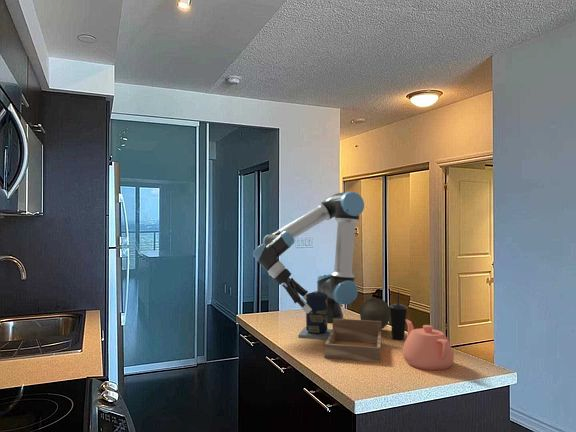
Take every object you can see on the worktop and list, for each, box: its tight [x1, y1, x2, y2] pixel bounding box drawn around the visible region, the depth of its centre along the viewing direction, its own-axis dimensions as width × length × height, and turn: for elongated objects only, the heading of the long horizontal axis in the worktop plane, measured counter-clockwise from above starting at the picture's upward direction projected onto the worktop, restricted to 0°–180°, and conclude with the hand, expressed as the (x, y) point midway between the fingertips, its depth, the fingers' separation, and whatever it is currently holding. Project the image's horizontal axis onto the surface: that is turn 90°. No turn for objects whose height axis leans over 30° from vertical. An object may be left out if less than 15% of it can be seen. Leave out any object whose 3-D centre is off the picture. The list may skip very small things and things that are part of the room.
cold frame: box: [323, 318, 382, 363], centre depth 172 cm, size 26×20×9 cm
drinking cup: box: [388, 291, 408, 341], centre depth 190 cm, size 8×8×20 cm
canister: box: [305, 290, 328, 333], centre depth 196 cm, size 10×10×18 cm
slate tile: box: [297, 327, 333, 340], centre depth 195 cm, size 14×14×1 cm
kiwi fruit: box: [359, 297, 391, 330], centre depth 202 cm, size 14×14×15 cm
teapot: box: [402, 318, 455, 371], centre depth 158 cm, size 25×17×13 cm
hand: (312, 308), depth 196 cm, fingers open, 13 cm apart
